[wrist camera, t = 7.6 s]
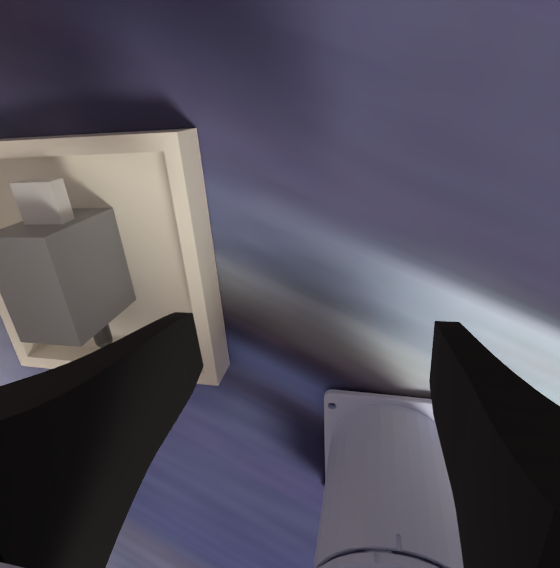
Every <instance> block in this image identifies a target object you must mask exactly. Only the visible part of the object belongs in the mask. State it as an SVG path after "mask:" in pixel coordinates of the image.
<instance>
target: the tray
mask: <svg viewBox="0 0 560 568" xmlns="http://www.w3.org/2000/svg"><path fill="white" fill-rule="evenodd" d="M52 178H63V181H64V184H65V187H66V191H67V194H68V197H69V201H70V204H71V207H72V208H113V210H114V214H115V218H116V222H117V225H118V229H119V233H120V237H121V241H122V245H123V249H124V253H125V257H126V261H127V265H128V269H129V273H130V276H131V280H132V284H133V288H134V292H135V296H136V300H135V301H134V302H133V303H132V304H131V305H129V306H128V307H127V308H126V309H125V310H124V311H122V312H121V313H120V314H119V315H118V316H117V317H115V318H114V319H113V320H112V321H111V322H110V323H108V324H109V327H110V330H111V334H112V337H113V341H112V343H113V342H115V341H117V340H119V339H121V338H123V337H125V336H127V335H129V334H130V333H132V332H134V331H136V330H138V329H140V328H142V327H144V326H146V325H148V324H150V323H152V322H154V321H156V320H158V319H160V318H162V317H164V316H167V315H169V314H172V313H174V312H185V313H193V317H194V321H195V326H196V331H197V336H198V341H199V346H200V351H201V355H202V360H203V365H204V366H203V369H202V371H201V374H200V377H199V379H198V381H197V384H205V385H214V386H219V384H220V382H221V380H222V378H223V376H224V375H225V373H226V371H227V369H228V367H229V365H230V360H229V353H228V346H227V339H226V332H225V325H224V318H223V311H222V304H221V297H220V290H219V283H218V276H217V269H216V262H215V254H214V247H213V240H212V233H211V226H210V219H209V212H208V205H207V198H206V191H205V184H204V177H203V170H202V163H201V156H200V149H199V142H198V135H197V128H188V129H170V130H151V131H133V132H115V133H96V134H78V135H60V136H41V137H23V138H5V139H0V229H2V228H5V227H7V226H10V225H13V224H16V223H19V222H21V221H23V220H22V217H21V214H20V212H19V209H18V206H17V203H16V200H15V198H14V195H13V192H12V189H11V186H10V184H9V183H12V182H16V181H21V180H25V179H52ZM0 315H1V318H2V320H3V322H4V325H5V327H6V330H7V332H8V334H9V337H10V339H11V341H12V344H13V346H14V349H15V351H16V353H17V356H18V358H19V361H20V363H21V365H22V366H29V367H39V368H49V369H54V368H56V367H59V366H61V365H64V364H67V363H69V362H71V361H74V360H76V359H79V358H81V357H83V356H85V355H88V354H90V353H92V352H94V351H96V350H98V349H100V347H98V346H97V345H96V344H95V341H94V338H93V337H92V338H91V339H90V340H89V341H87V342H86V343H85V344H84V345H83V346H82V347H77V346H64V345H51V344H38V343H25V342H20V339H19V337H18V334H17V332H16V330H15V327H14V325H13V322H12V320H11V318H10V315H9V313H8V310H7V308H6V306H5V303H4V301H3V298H2V296H1V294H0Z"/></svg>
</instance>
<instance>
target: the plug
mask: <svg viewBox="0 0 560 568" xmlns="http://www.w3.org/2000/svg"><path fill="white" fill-rule="evenodd" d="M9 184H10V186H11V189H12V192H13V195H14V198H15V200H16V203H17V206H18V209H19V212H20V214H21V217H22V220H23V221H21V222H19V223H16V224H13V225H10V226H7V227H5V228H2V229H0V294H1V296H2V298H3V301H4V303H5V306H6V308H7V310H8V313H9V315H10V318H11V320H12V322H13V325H14V327H15V330H16V332H17V334H18V337H19V339H20V342H25V343H38V344H51V345H64V346H77V347H82V346H83V345H84V344H85V343H86V342H87V341H89V340H90V339H91V338H92V337H93V338H94V341H95V344H96V345H97V346H98V347H100V348H102V347H104V346H106V345H108V344H111V343H112V341H113V337H112V334H111V330H110V327H109V324H108V323H110V322H111V321H112V320H113V319H114V318H115V317H117V316H118V315H119V314H120V313H121V312H122V311H124V310H125V309H126V308H127V307H128V306H129V305H131V304H132V303H133V302H134V301H135V300H136V296H135V292H134V288H133V284H132V280H131V276H130V273H129V269H128V265H127V261H126V257H125V253H124V249H123V245H122V241H121V237H120V233H119V229H118V225H117V222H116V218H115V214H114V210H113V208H72V207H71V204H70V201H69V197H68V194H67V191H66V187H65V184H64V181H63V178H52V179H25V180H21V181H16V182H12V183H9Z"/></svg>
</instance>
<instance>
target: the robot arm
mask: <svg viewBox="0 0 560 568" xmlns="http://www.w3.org/2000/svg"><path fill="white" fill-rule="evenodd" d="M203 366H204V365H203V360H202V355H201V351H200V346H199V341H198V336H197V331H196V326H195V321H194V317H193V313H185V312H174V313H172V314H169V315H167V316H164V317H162V318H160V319H158V320H156V321H154V322H152V323H150V324H148V325H146V326H144V327H142V328H140V329H138V330H136V331H134V332H132V333H130V334H129V335H127V336H125V337H123V338H121V339H119V340H117V341H115V342H113V343H111V344H108V345H106V346H104V347H102V348H100V349H98V350H96V351H94V352H92V353H90V354H88V355H85V356H83V357H81V358H79V359H76V360H74V361H71V362H69V363H67V364H64V365H61V366H59V367H56V368H54V369H51V370H48V371H46V372H43V373H40V374H37V375H34V376H31V377H28V378H25V379H22V380H19V381H15V382H12V383H9V384H6V385H3V386H0V568H105V567H106V565H107V562H108V560H109V557H110V554H111V552H112V549H113V547H114V544H115V542H116V539H117V537H118V534H119V532H120V529H121V527H122V525H123V523H124V520H125V518H126V516H127V513H128V511H129V509H130V507H131V504H132V502H133V500H134V497H135V495H136V493H137V491H138V489H139V487H140V485H141V482H142V480H143V478H144V476H145V474H146V472H147V470H148V468H149V466H150V464H151V462H152V460H153V458H154V457H155V455H156V453H157V451H158V450H159V448H160V446H161V445H162V443H163V441H164V440H165V438H166V436H167V435H168V433H169V431H170V430H171V428H172V426H173V425H174V423H175V422H176V420H177V418H178V417H179V415H180V413H181V412H182V410H183V408H184V407H185V405H186V403H187V402H188V400H189V398H190V396H191V395H192V393H193V391H194V388H195V386H196V384H197V381H198V379H199V377H200V374H201V371H202V369H203ZM430 391H431V399H426V398H415V397H405V396H395V395H385V394H375V393H364V392H354V391H344V390H334V389H330V390H327V391H326V392H325V394H324V437H325V487H324V495H323V502H322V509H321V517H320V524H319V532H318V539H317V546H316V554H315V561H314V568H560V406H558V405H557V404H555V403H554V402H552V401H551V400H549V399H548V398H547V397H545V396H544V395H542V394H541V393H540V392H538V391H537V390H535V389H534V388H533V387H532V386H530V385H529V384H528V383H526V382H525V381H524V380H523V379H521V378H520V377H519V376H518V375H516V374H515V373H514V372H513V371H511V370H510V369H509V368H508V367H507V366H506V365H504V364H503V363H502V362H501V361H500V360H499V359H498V358H496V357H495V356H494V355H493V354H492V353H491V352H490V351H489V350H488V349H487V348H485V347H484V346H483V345H482V344H481V343H480V342H479V341H478V340H477V339H476V338H475V337H474V336H473V335H472V334H471V333H470V332H469V331H468V330H467V329H466V328H465V327H464V326H463V325H462V324H461V323H460V322H443V321H435V326H434V337H433V348H432V360H431V371H430ZM330 403H334V404H335V405H331V404H330Z"/></svg>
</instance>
